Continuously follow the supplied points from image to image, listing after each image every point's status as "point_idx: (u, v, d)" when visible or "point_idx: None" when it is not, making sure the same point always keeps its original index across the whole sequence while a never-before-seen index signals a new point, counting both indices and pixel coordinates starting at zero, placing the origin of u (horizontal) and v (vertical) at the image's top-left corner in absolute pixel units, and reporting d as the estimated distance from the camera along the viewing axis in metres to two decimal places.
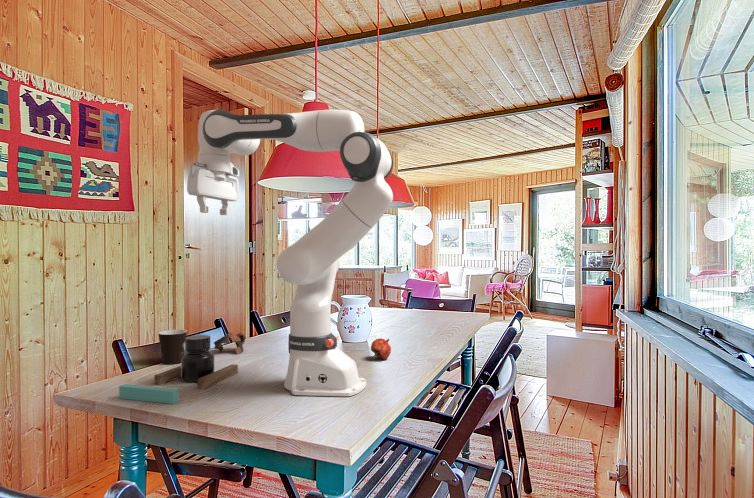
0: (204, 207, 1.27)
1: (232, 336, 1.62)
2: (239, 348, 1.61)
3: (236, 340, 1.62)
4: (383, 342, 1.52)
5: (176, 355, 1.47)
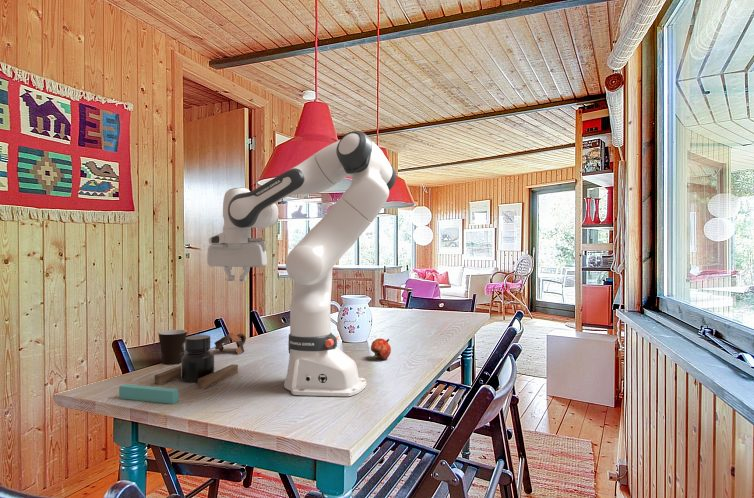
0: (246, 276, 1.46)
1: (233, 336, 1.62)
2: (240, 348, 1.61)
3: (237, 340, 1.61)
4: (383, 342, 1.52)
5: (176, 355, 1.47)
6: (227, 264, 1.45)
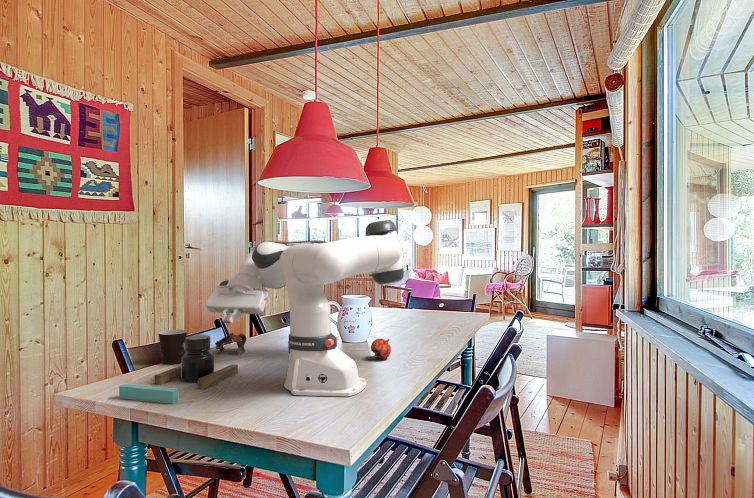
0: (233, 319, 1.46)
1: (233, 336, 1.61)
2: (241, 348, 1.61)
3: (238, 340, 1.61)
4: (383, 342, 1.52)
5: (176, 355, 1.47)
6: (224, 305, 1.48)
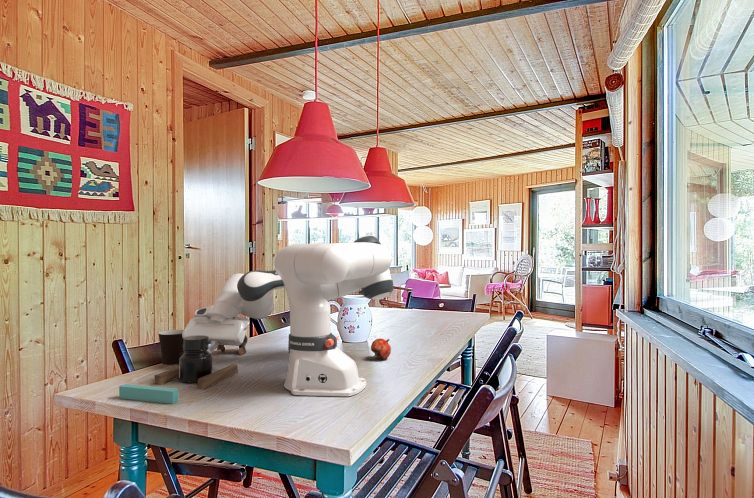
0: (210, 352, 1.36)
1: None
2: (242, 349, 1.60)
3: None
4: (383, 342, 1.52)
5: (176, 355, 1.47)
6: None
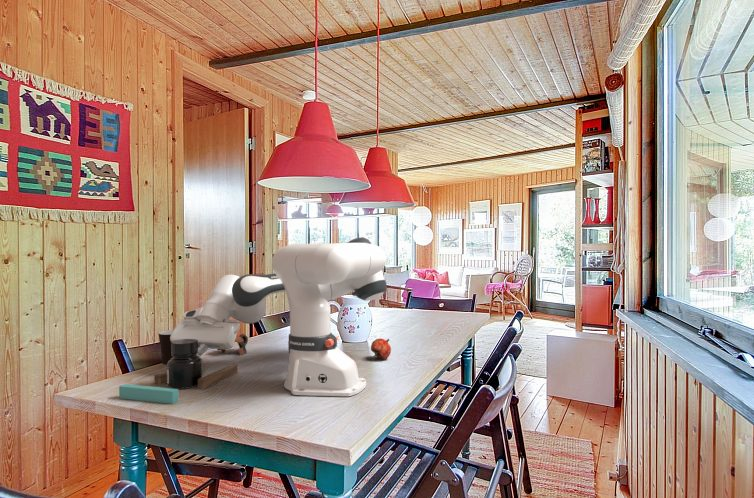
0: (199, 356, 1.31)
1: None
2: (242, 349, 1.60)
3: (239, 341, 1.60)
4: (383, 342, 1.52)
5: None
6: None
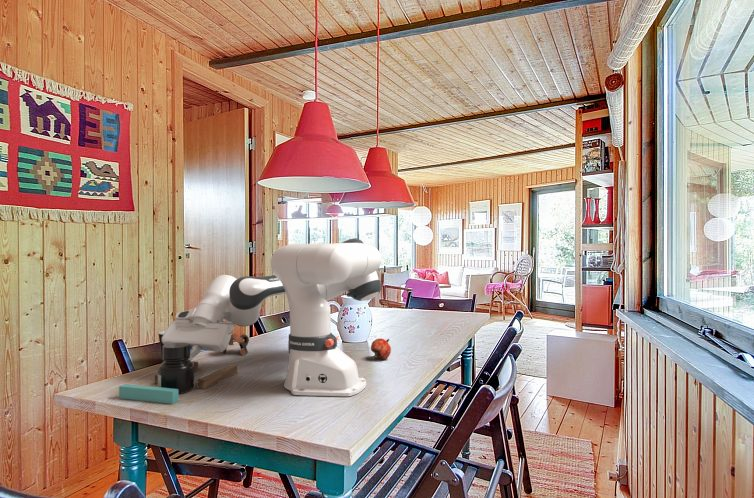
0: (191, 358, 1.26)
1: (236, 337, 1.60)
2: (243, 349, 1.59)
3: (240, 341, 1.59)
4: (383, 342, 1.52)
5: None
6: (182, 340, 1.28)
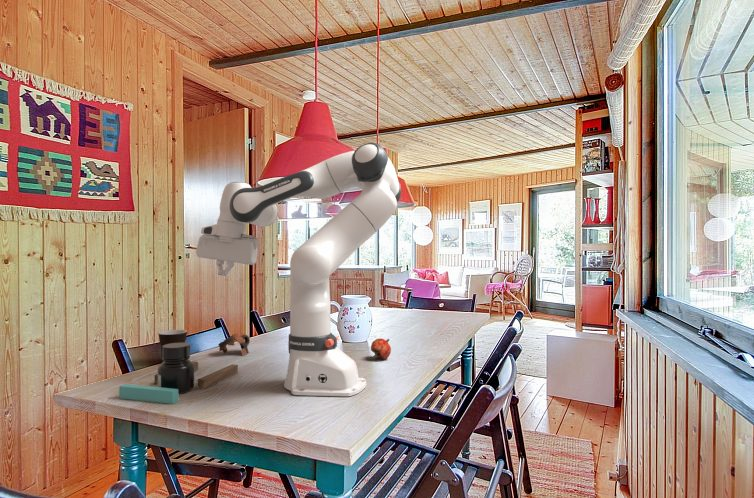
0: (228, 271, 1.43)
1: (237, 337, 1.59)
2: (244, 350, 1.59)
3: (241, 342, 1.59)
4: (383, 342, 1.52)
5: None
6: (216, 257, 1.42)
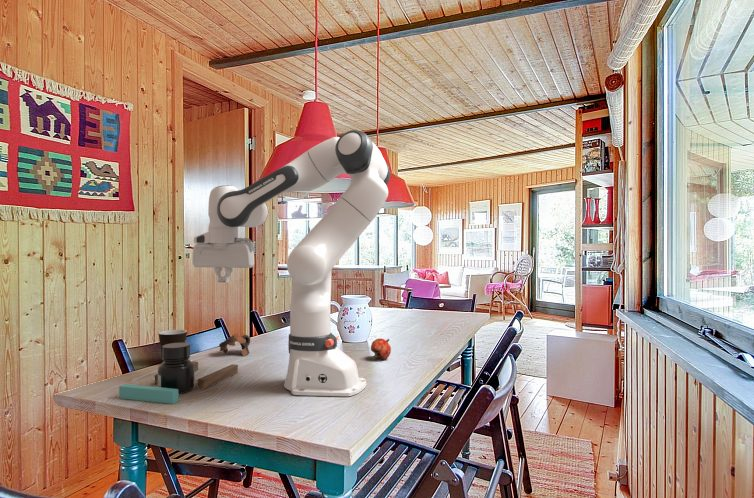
0: (228, 277, 1.41)
1: (238, 338, 1.59)
2: (245, 350, 1.59)
3: (242, 342, 1.59)
4: (383, 342, 1.52)
5: None
6: (213, 265, 1.40)
